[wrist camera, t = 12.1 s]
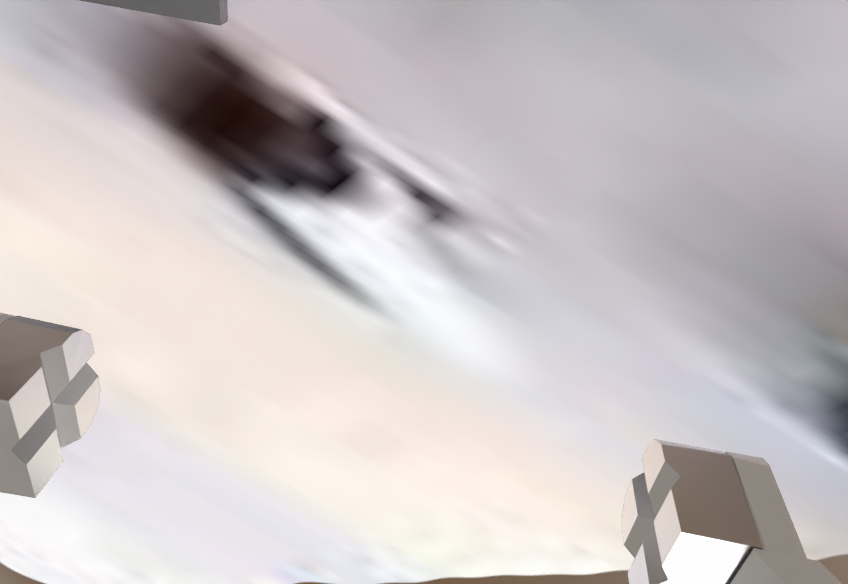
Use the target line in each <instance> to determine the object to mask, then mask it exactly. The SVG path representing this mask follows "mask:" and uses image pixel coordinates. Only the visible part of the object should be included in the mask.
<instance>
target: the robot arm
mask: <svg viewBox="0 0 848 584" xmlns="http://www.w3.org/2000/svg"><path fill="white" fill-rule="evenodd" d="M93 354H94V348H93V344H92V339H91V335H90V334H89V333H87V332H85V331H84V330H81V329H77V328H72V327H67V326H63V325H58V324H53V323H49V322H44V321H40V320H35V319H30V318H26V317H21V316H12V315H8V314H3V313H0V492H3V493H9V494H15V495H21V496H27V497H33V498H36V497H37V495H38V494H39V493H40V491H41V490H42V489H43V487H44V486H45V485H46V483H47V482H48V481H49V480H50V478H51V477H52V476H53V474H54V473H55V472H56V470H57V469H58V468H59V466H60V465H61V464H62V463H63V456H62V447H64V446H66V445H68V444H70V443H72V442H74V441H76V440H78V439H80V438H81V437H82V436H83V435H84V433H85V432H86V430H87V429H88V428H89V426H90V425H91V423H92V421H93V418H94V416H95V413H96V411H97V408H98V405H99V399H100V383H99V377H98V375H97V374H96V373H95V372H94V371H93V369H92V368H91V367H90V366H89V365H88V364H87V363H86V362H87V361H88V360H89V358H90V357H91V356H92V355H93ZM642 462H643V467H644V473H642V474H641V475H639V476H637V477H635V478H633V479H632V480H631V483H630V485H629V488H628V490H627V493H626V495H625V500H624V505H623V511H622V534H623V542H624V545H625V547H626V548H627V549H628V550H629V552H630V553H631V554H632V555H633V557H634V558H635V559H634V561H633V563H632V565H631V567H630V569H629V571H628V577H629V584H842V583H841V582H840V581H839V580H838V579H837V578H836V577H835V576H834V575H833V574H831V573H830V572H829V571H828V570H827V569H826V568H825V567H824V566H823V565H822V564H821V563H820V562H819V561H815V560H810V559H807V557H806V555H805V552H804V550H803V547H802V545H801V542H800V540H799V537H798V535H797V532H796V530H795V527H794V525H793V522H792V520H791V518H790V515H789V513H788V510H787V508H786V505H785V503H784V500H783V498H782V495H781V493H780V490H779V488H778V485H777V483H776V481H775V478H774V476H773V473H772V471H771V468H770V466H769V464H768V463H767V462H766V461H765V460H764V459H763V458H758V457H753V456H747V455H741V454H736V453H730V452H725V453H724V452H721V451H716V450H711V449H705V448H700V447H694V446H689V445H683V444H678V443H673V442H667V441H662V440H656V439H654V440H653V441H652V442H651V443H650V444H649V445H648V446H647V448H646V450H645V452H644V454H643V456H642Z"/></svg>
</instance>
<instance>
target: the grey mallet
mask: <svg viewBox="0 0 848 584" xmlns="http://www.w3.org/2000/svg"><path fill="white" fill-rule="evenodd" d="M81 1H86V2H92V3H97V4H103V5H109V6H114V7H120V8H125V9H131V10H137V11H142V12H148V13H153V14H159V15H164V16H170V17H176V18H181V19H187V20H192V21H198V22H204V23H209V24H215V25H222V24H224V23H225V22H227V0H81Z"/></svg>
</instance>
